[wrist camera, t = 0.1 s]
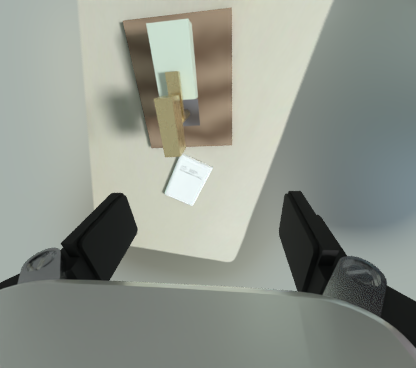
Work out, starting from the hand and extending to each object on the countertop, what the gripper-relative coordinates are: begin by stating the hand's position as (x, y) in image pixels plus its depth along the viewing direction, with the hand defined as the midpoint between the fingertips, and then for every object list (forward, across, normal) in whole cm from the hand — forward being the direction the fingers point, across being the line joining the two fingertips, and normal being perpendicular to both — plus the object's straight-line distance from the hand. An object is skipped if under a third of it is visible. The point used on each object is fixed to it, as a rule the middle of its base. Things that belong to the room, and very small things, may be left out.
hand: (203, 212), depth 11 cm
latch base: (+31, +7, -5) cm, 32 cm away
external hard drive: (+32, +9, +15) cm, 36 cm away
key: (+29, +7, -3) cm, 30 cm away
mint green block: (+27, +7, -9) cm, 29 cm away
